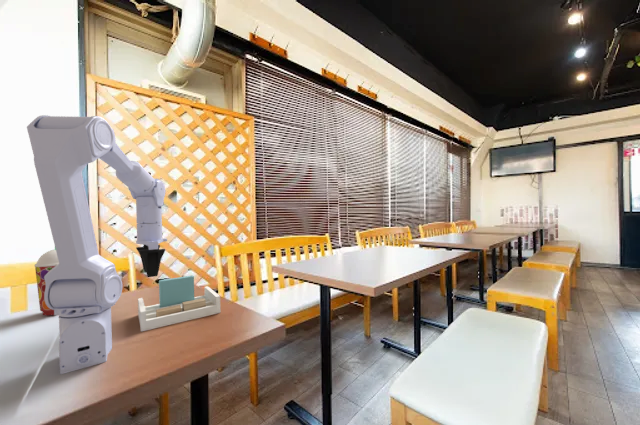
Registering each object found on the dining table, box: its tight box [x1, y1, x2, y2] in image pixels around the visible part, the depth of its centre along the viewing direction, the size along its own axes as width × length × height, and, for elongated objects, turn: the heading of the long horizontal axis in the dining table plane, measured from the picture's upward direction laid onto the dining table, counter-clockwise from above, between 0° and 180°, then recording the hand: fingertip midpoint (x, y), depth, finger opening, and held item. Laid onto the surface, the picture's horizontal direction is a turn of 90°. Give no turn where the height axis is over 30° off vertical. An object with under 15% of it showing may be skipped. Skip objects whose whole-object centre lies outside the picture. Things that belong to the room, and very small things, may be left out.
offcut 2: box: [182, 298, 206, 311], centre depth 67 cm, size 2×5×4 cm, turn 127°
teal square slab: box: [158, 275, 195, 308], centre depth 71 cm, size 2×8×8 cm, turn 126°
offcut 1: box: [156, 305, 181, 317], centre depth 64 cm, size 2×5×3 cm, turn 127°
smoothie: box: [34, 247, 59, 317], centre depth 74 cm, size 8×8×20 cm
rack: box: [137, 286, 221, 332], centre depth 68 cm, size 12×17×5 cm
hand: (150, 273), depth 72 cm, fingers open, 7 cm apart
